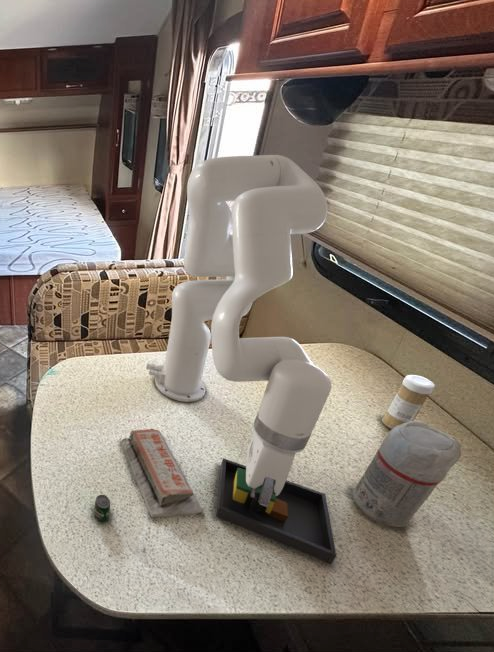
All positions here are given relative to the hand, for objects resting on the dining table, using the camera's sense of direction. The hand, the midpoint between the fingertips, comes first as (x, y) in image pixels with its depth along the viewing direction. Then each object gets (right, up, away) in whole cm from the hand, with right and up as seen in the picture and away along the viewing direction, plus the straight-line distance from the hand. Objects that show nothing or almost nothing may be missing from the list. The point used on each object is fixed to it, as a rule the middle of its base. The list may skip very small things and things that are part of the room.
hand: (254, 497), depth 70 cm
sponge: (0, 0, 0) cm, 0 cm away
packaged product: (-16, 0, +8) cm, 17 cm away
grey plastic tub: (+23, -2, -1) cm, 23 cm away
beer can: (-29, -4, +1) cm, 29 cm away
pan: (+3, -3, 0) cm, 4 cm away
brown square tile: (+3, -2, -1) cm, 4 cm away
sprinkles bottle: (+43, +8, +16) cm, 47 cm away
